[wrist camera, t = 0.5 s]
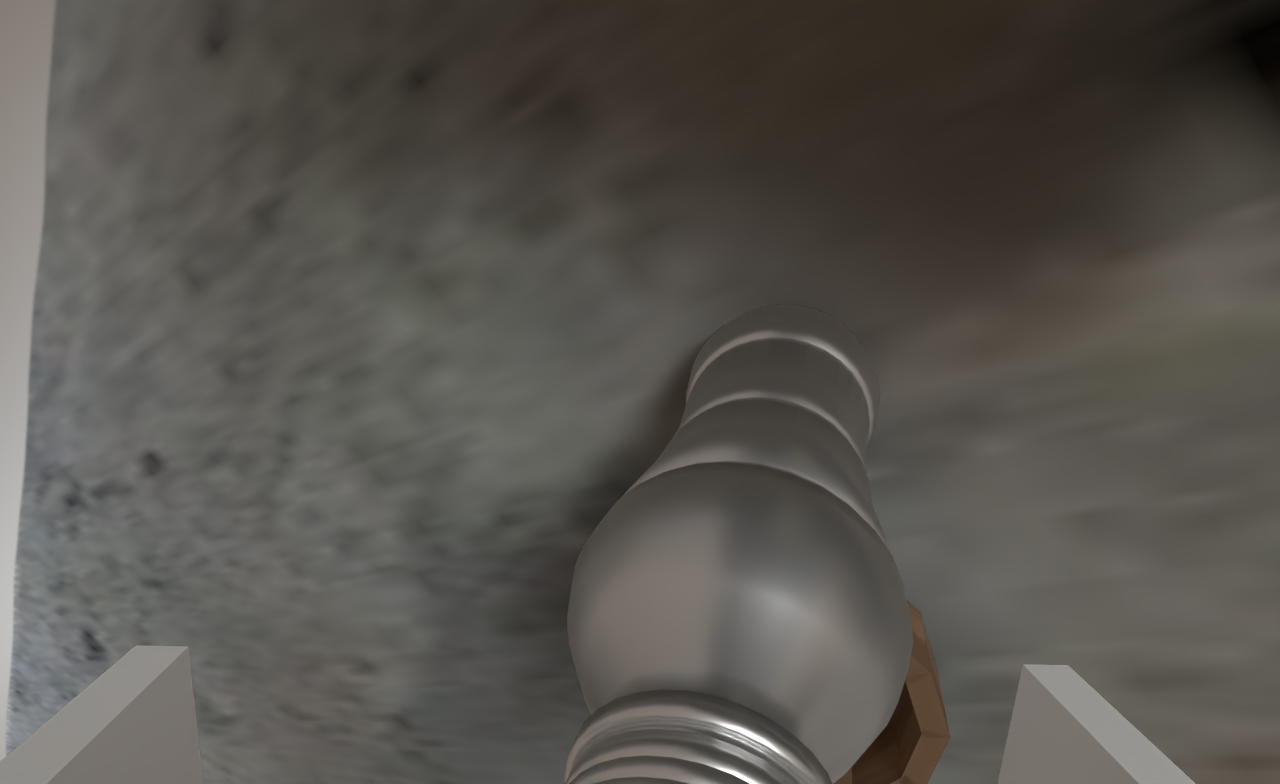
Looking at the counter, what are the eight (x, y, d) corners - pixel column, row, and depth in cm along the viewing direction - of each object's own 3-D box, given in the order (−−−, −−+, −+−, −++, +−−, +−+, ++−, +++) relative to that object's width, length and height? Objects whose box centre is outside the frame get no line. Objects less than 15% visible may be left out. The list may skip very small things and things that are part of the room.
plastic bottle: (875, 446, 26) (970, 1153, 8) (706, 444, 28) (483, 1013, 10) (876, 285, 24) (1010, 770, 6) (692, 296, 26) (374, 686, 8)
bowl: (788, 497, 28) (782, 544, 25) (994, 677, 28) (1014, 746, 25) (621, 637, 33) (599, 690, 30) (797, 786, 34) (793, 854, 31)
